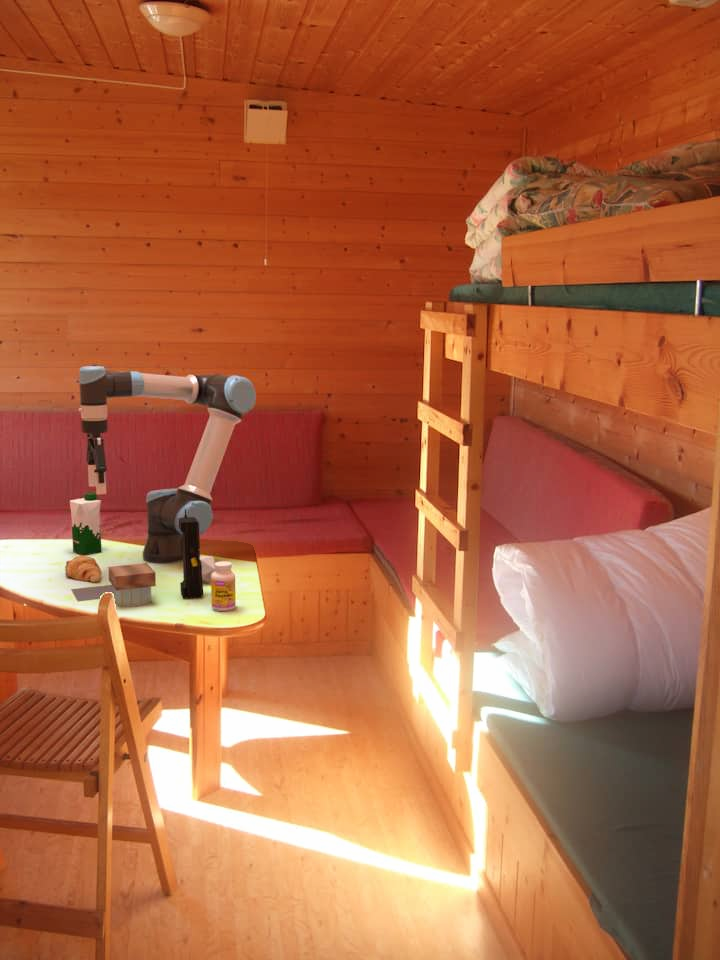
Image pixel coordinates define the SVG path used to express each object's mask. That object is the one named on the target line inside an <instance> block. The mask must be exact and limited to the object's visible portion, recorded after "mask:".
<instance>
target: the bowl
mask: <svg viewBox="0 0 720 960" xmlns="http://www.w3.org/2000/svg"><path fill="white" fill-rule="evenodd" d="M114 597H115V600H114V603H115V602H116V603H115V604H116V605H119V606H121V605H122V607H135V606H136V607H137V606H143V605H146V604H148V603H150V602H152V601H151V600H152V587H144V588H135V589H126V590H117V591H116V590H115V588H114ZM114 597H113V598H114Z"/></svg>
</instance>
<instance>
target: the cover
mask: <svg viewBox="0 0 720 960" xmlns="http://www.w3.org/2000/svg"><path fill="white" fill-rule="evenodd" d="M108 581H109V583H110V585H113V587H114V588H115V590H116V591H117V590H126V589H135V588H144V587H151V588H153V587H157V585H156V581H157V580H156V572H155V570H154V569H153V568H152V567H151V566H150V565H149V564H148V563H147V562H145V563H133V564H124V565H122V564H121V565H114V566H113V565H112V566H108Z"/></svg>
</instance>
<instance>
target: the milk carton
mask: <svg viewBox="0 0 720 960" xmlns="http://www.w3.org/2000/svg"><path fill="white" fill-rule="evenodd" d="M97 496H98V494H96V492H85V493H84V497H83V498H76V499H71V500H69V507H70V513H71V514H70V517H71V534H72V535H71V536H72V552H73V553H76V554H78V555H79V556H80V555H84V556H88V555H93V554H98V553H99V554H100V553H102V551H103V550H102V537H101V535H102V534H101V533H102V532H101V514H100V513H101V504H102V500H100V499H98V497H97Z"/></svg>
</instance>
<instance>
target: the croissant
mask: <svg viewBox="0 0 720 960" xmlns="http://www.w3.org/2000/svg"><path fill="white" fill-rule="evenodd" d="M64 568H65V570H64V571H65V573H66V575H67V577H69V578H70V579H71V580H77V581H82V582H90V583H98V582H99V581H100V580H101V579H102V575H103V574H102V570H101V567H100V566H99V564H98V562H97V561H96V559H95V558H93V557H91V556H88V555H80V554H79V555H78V556H75V557H73V558H72V559H70V560H67V561H66V564H65V567H64Z"/></svg>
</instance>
